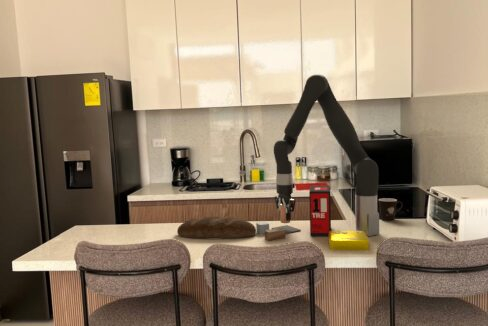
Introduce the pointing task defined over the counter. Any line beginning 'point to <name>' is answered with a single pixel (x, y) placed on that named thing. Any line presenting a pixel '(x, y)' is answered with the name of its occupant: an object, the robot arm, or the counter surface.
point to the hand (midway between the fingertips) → (285, 219)
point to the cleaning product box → (320, 211)
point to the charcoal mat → (288, 229)
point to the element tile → (348, 240)
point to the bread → (216, 228)
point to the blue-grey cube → (262, 227)
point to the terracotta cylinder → (283, 214)
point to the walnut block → (275, 234)
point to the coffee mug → (388, 208)
